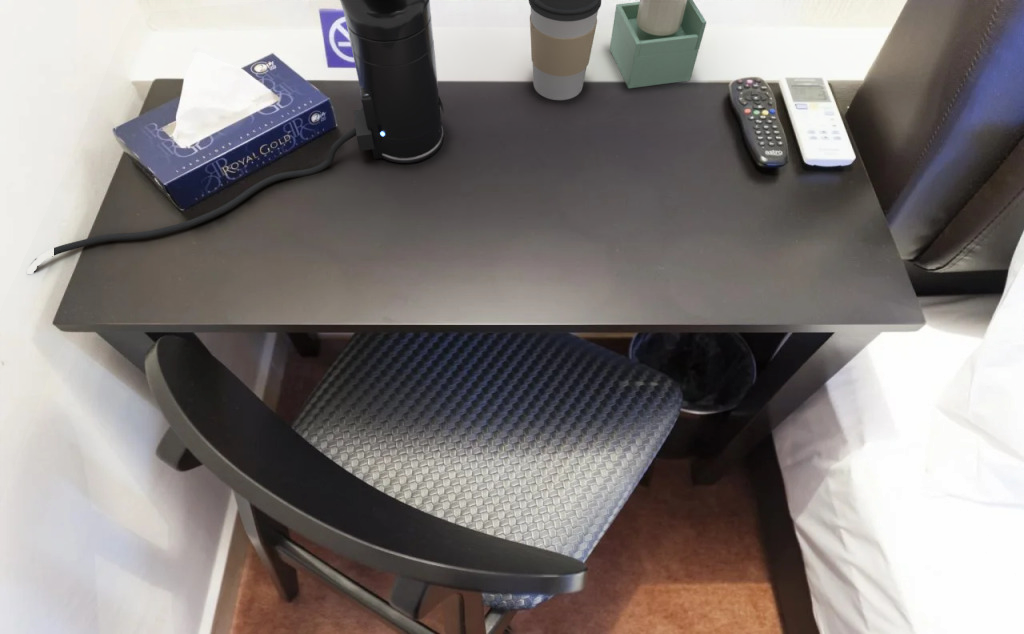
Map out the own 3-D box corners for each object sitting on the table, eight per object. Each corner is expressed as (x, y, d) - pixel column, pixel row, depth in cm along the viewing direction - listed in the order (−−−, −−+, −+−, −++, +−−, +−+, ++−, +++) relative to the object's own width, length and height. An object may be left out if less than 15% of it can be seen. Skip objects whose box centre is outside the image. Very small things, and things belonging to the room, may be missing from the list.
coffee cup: (585, 109, 90) (598, 6, 78) (520, 100, 91) (522, -4, 79) (594, 68, 95) (608, -36, 82) (532, 60, 96) (536, -44, 83)
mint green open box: (628, 88, 93) (639, 30, 85) (609, 49, 98) (618, -10, 90) (690, 80, 94) (706, 22, 86) (668, 41, 99) (682, -17, 91)
